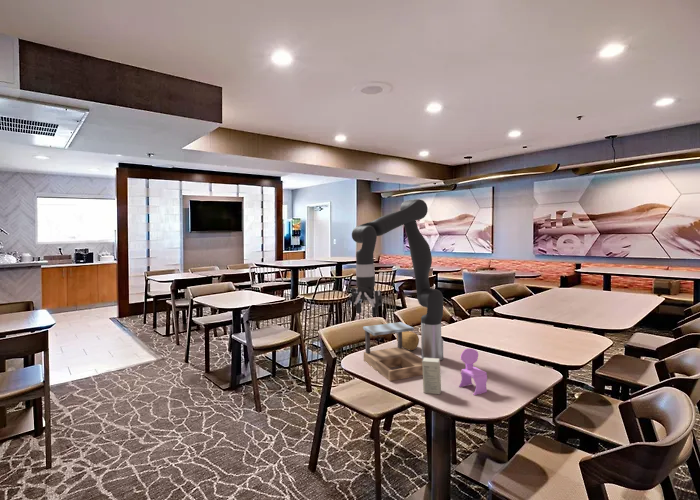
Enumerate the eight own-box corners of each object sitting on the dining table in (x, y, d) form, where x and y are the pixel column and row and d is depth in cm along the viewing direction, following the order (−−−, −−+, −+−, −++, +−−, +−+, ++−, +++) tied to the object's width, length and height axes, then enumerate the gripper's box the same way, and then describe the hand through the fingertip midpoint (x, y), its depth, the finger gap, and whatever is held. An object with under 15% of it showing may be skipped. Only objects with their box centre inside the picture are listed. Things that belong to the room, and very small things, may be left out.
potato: (408, 343, 199) (408, 326, 199) (423, 352, 184) (423, 333, 184) (394, 345, 196) (393, 327, 196) (407, 354, 182) (407, 335, 181)
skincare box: (441, 390, 140) (440, 358, 140) (440, 394, 136) (439, 362, 136) (424, 388, 142) (423, 356, 142) (422, 392, 138) (422, 360, 138)
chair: (472, 396, 134) (472, 355, 134) (456, 387, 142) (456, 349, 142) (490, 392, 138) (490, 352, 137) (473, 383, 146) (473, 345, 145)
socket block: (401, 354, 181) (400, 321, 180) (431, 373, 157) (431, 335, 156) (363, 360, 174) (363, 326, 173) (389, 381, 150) (389, 341, 149)
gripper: (385, 275, 148) (386, 315, 149) (358, 273, 158) (359, 310, 159) (372, 277, 142) (374, 318, 143) (346, 275, 152) (347, 313, 153)
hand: (366, 314), depth 151 cm, fingers open, 8 cm apart
